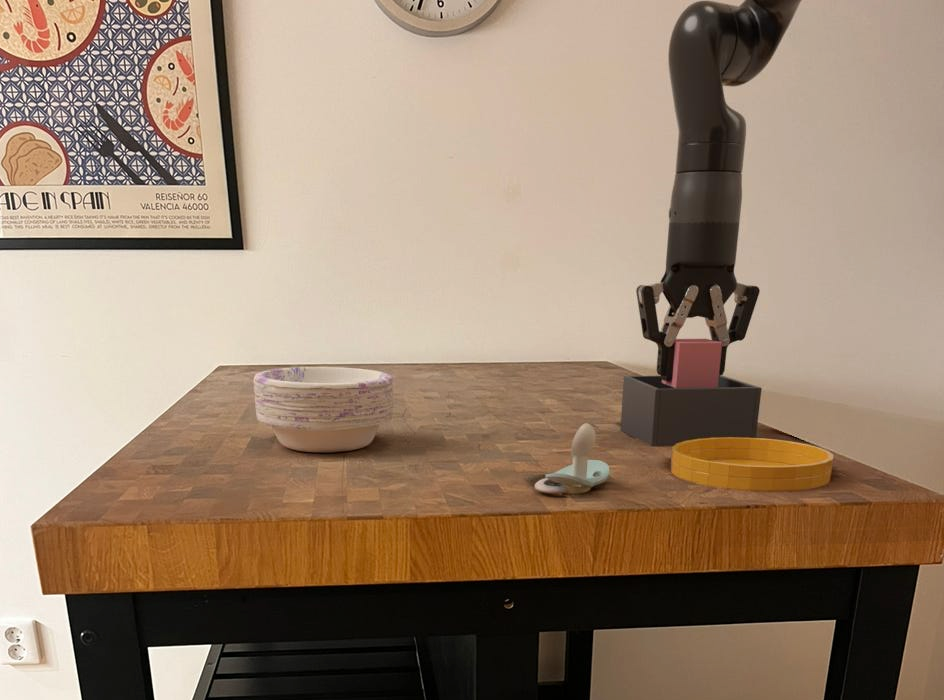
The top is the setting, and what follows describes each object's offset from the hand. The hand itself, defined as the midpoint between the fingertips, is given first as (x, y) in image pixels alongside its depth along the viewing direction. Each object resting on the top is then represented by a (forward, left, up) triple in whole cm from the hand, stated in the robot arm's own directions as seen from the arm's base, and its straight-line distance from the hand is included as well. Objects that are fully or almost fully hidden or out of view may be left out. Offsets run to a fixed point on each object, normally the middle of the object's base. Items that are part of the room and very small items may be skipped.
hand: (689, 379), depth 111 cm
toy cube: (0, 0, -1) cm, 1 cm away
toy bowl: (+1, +21, -7) cm, 22 cm away
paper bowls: (+42, 0, -7) cm, 43 cm away
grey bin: (0, 0, -7) cm, 7 cm away
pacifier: (+20, +25, -7) cm, 33 cm away
